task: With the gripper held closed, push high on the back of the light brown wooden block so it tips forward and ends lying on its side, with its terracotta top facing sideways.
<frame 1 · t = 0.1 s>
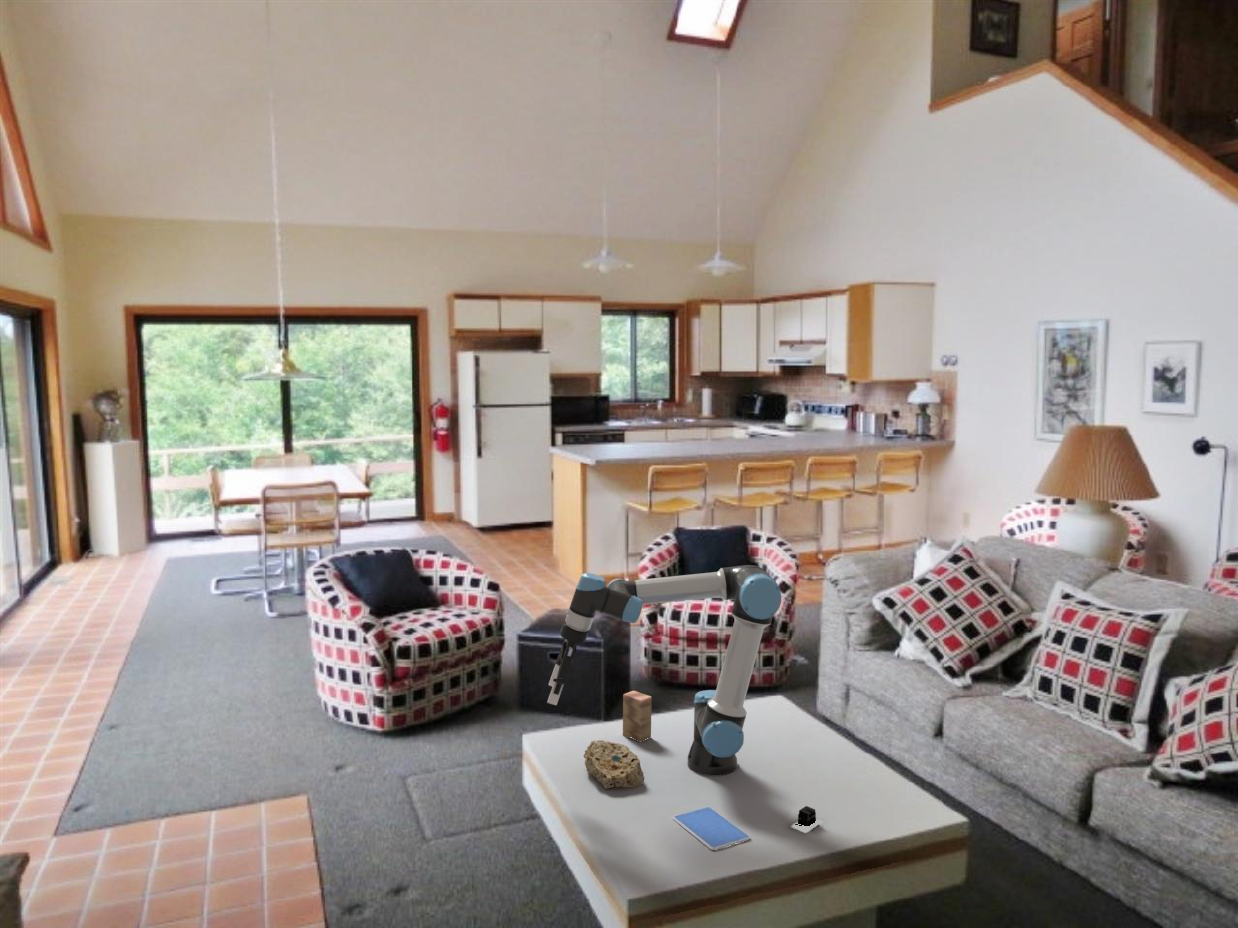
hand: (552, 694, 264), 28 cm above the table, tool tilted 20°, fingers open, 13 cm apart
tablet computer: (710, 831, 244), on the table
black block: (806, 826, 248), on the table
light brown wooden block: (636, 736, 303), on the table
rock: (610, 777, 275), on the table
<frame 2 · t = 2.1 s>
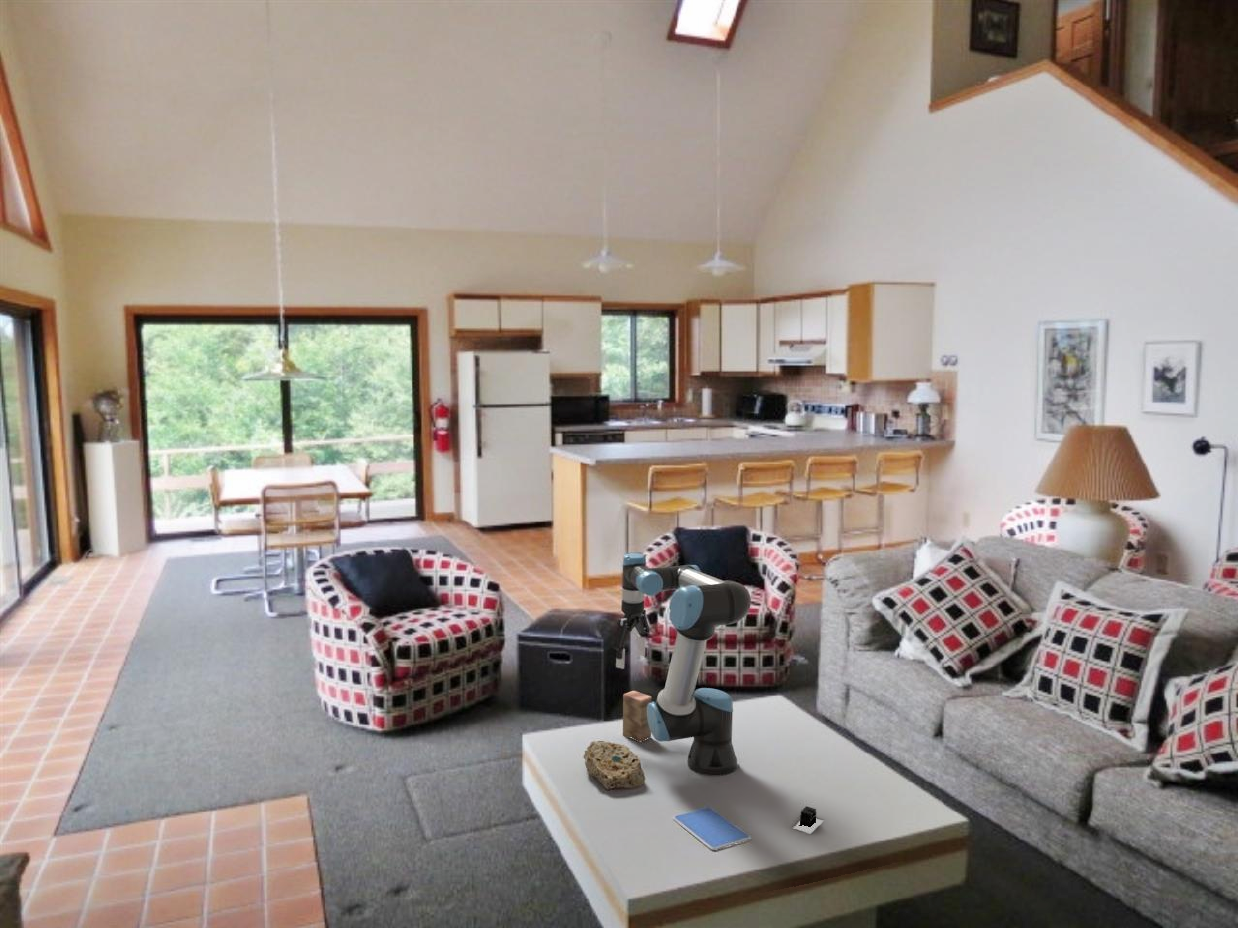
hand: (630, 661, 307), 23 cm above the table, tool pointing down, fingers open, 13 cm apart
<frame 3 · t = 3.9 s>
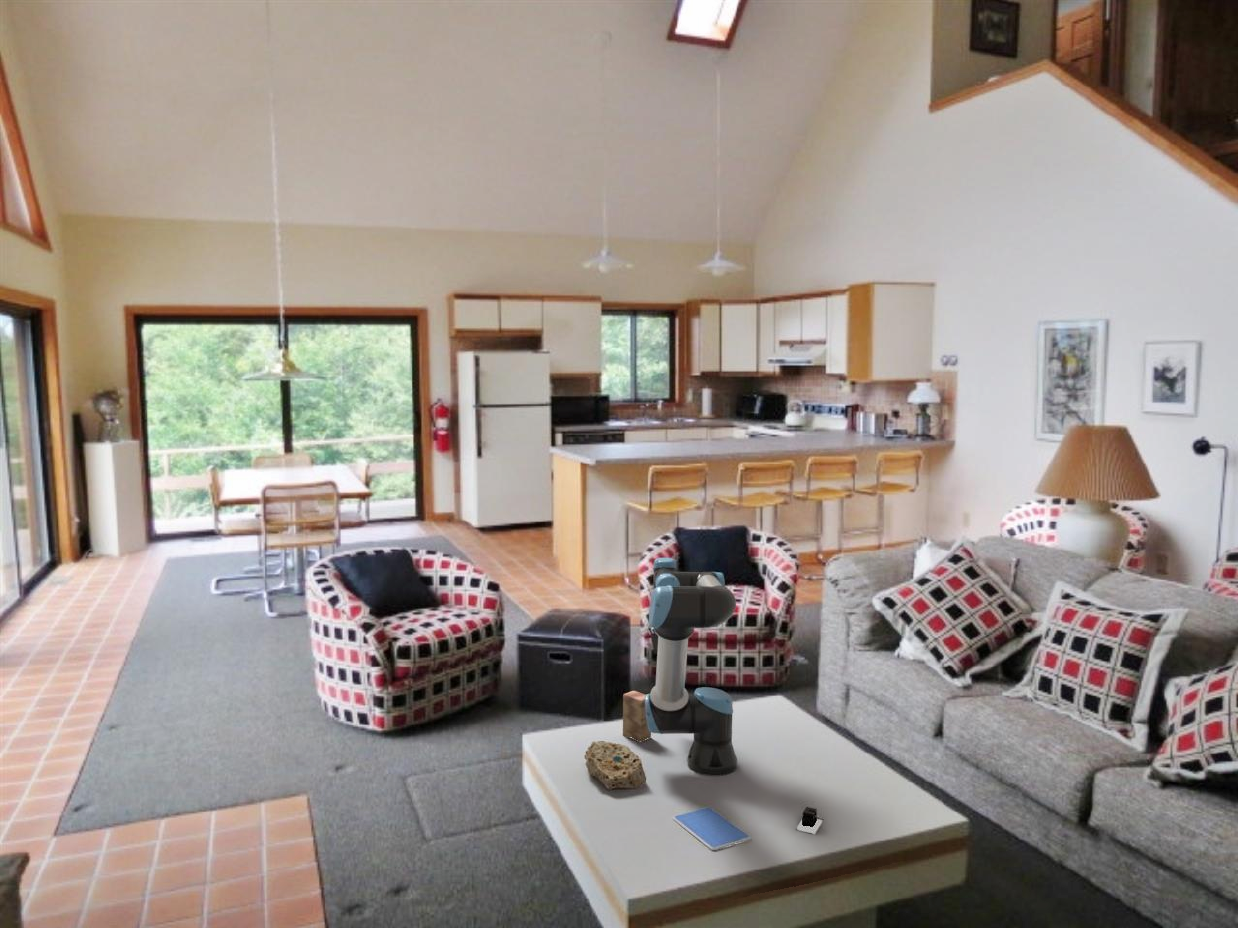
hand: (663, 671, 311), 19 cm above the table, tool pointing down, fingers closed
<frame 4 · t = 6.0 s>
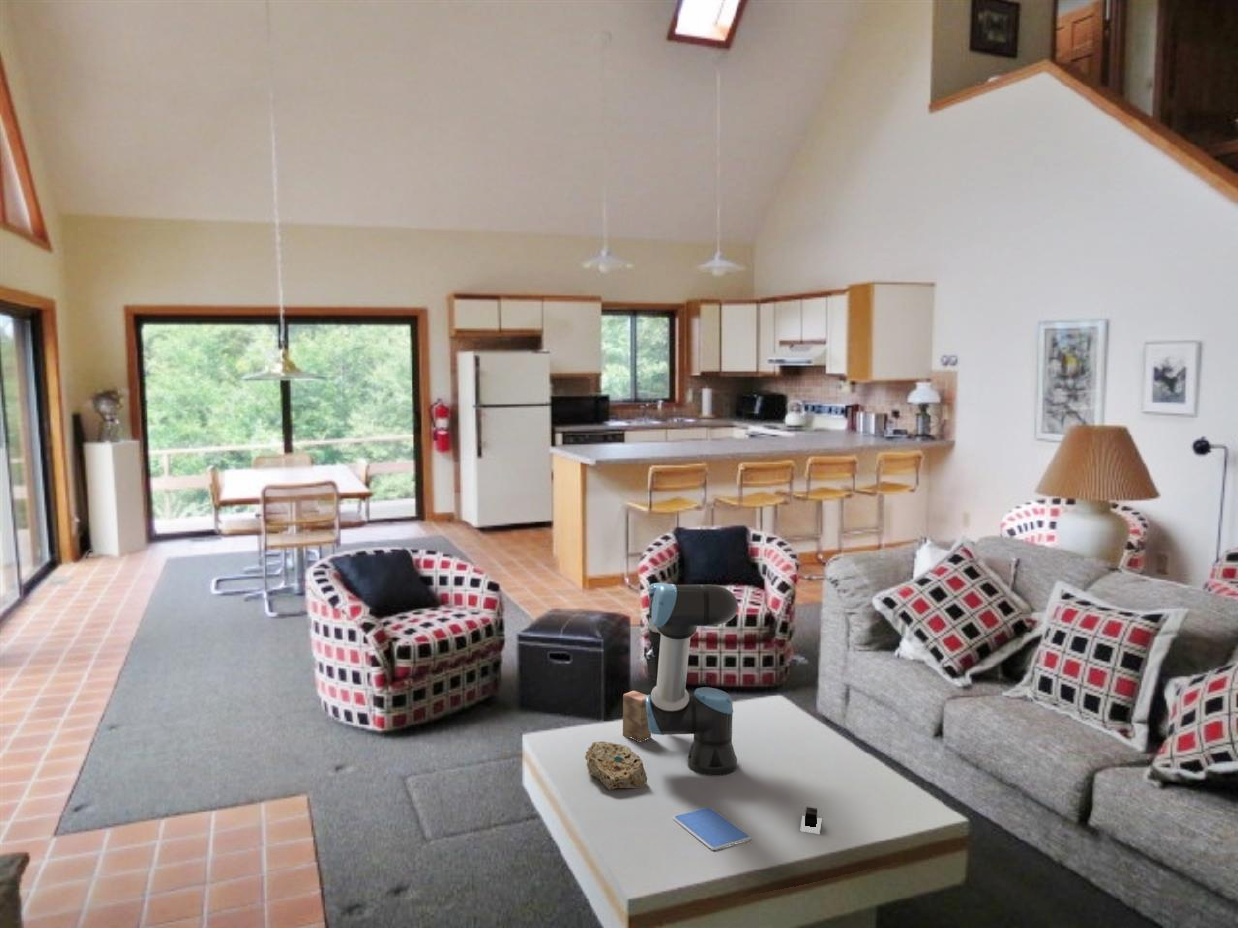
hand: (658, 697, 310), 10 cm above the table, tool pointing down, fingers closed
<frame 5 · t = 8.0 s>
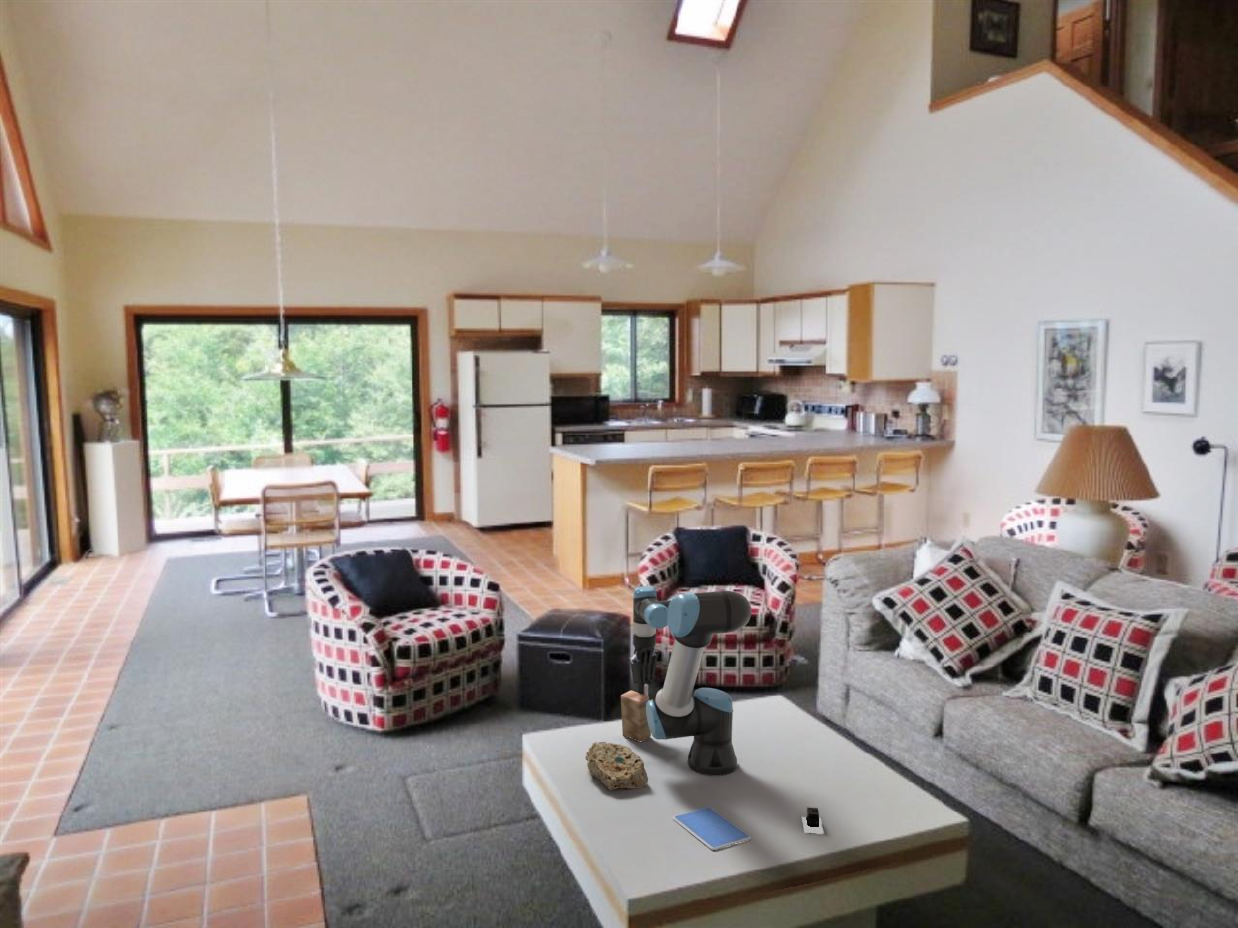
hand: (643, 702, 305), 11 cm above the table, tool pointing down, fingers closed
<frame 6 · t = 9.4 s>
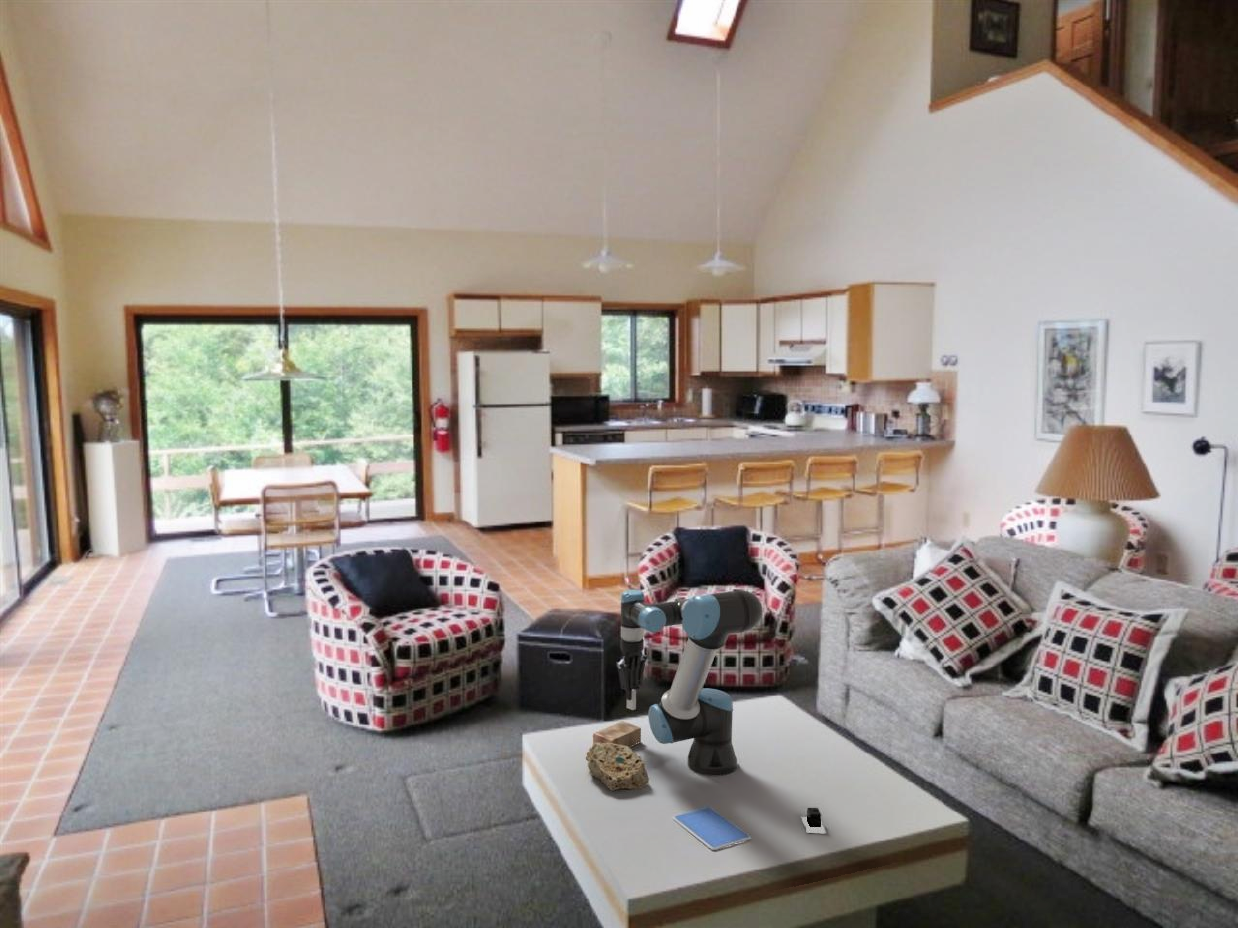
hand: (631, 708, 300), 10 cm above the table, tool pointing down, fingers closed
light brown wooden block: (631, 731, 301), point 2 cm above the table, tilted 90°
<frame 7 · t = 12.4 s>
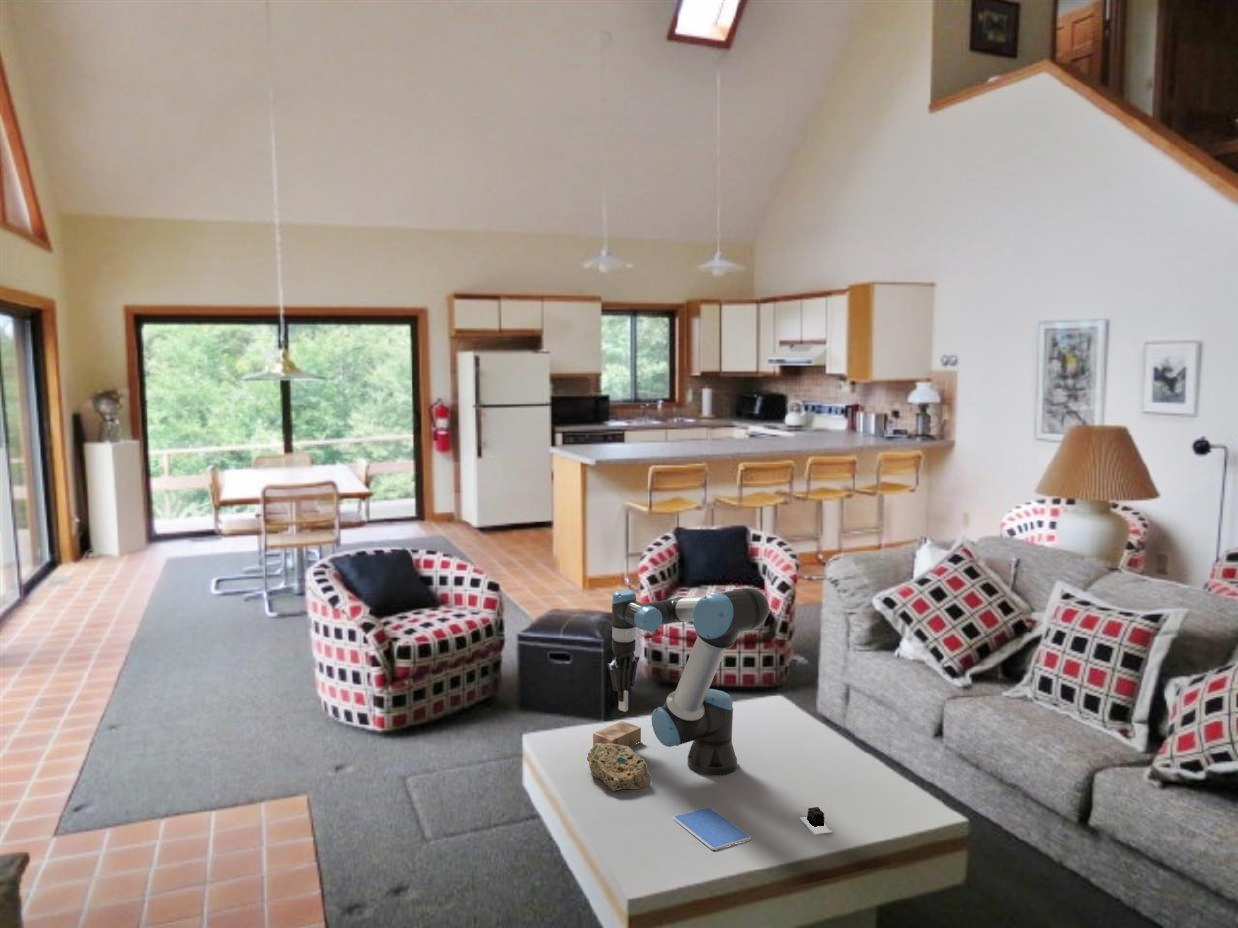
hand: (623, 709, 297), 11 cm above the table, tool pointing down, fingers closed
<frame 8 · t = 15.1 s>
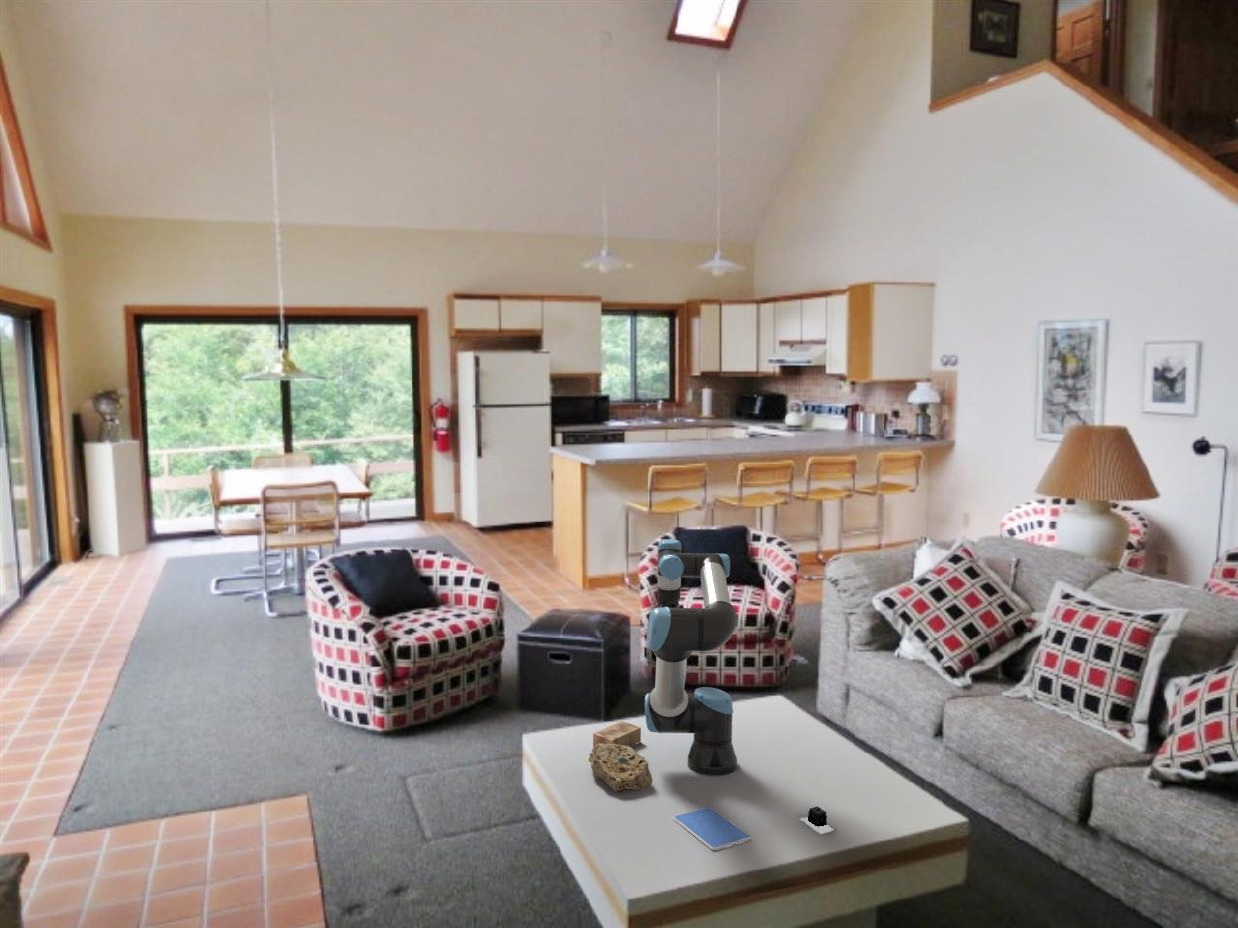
hand: (667, 657, 302), 26 cm above the table, tool pointing down, fingers closed
at the end: light brown wooden block tilted 90°; light brown wooden block inside the target area (4.5 cm from its centre), point 2.4 cm above the table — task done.
